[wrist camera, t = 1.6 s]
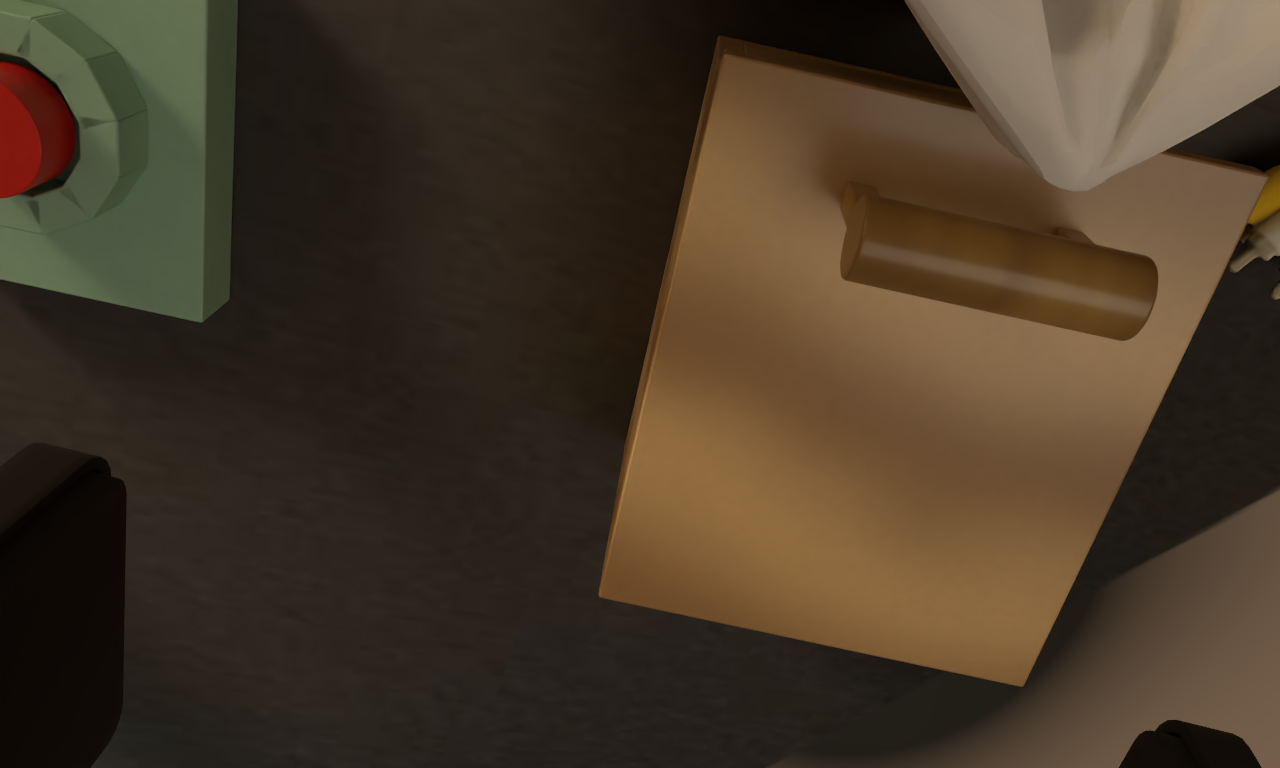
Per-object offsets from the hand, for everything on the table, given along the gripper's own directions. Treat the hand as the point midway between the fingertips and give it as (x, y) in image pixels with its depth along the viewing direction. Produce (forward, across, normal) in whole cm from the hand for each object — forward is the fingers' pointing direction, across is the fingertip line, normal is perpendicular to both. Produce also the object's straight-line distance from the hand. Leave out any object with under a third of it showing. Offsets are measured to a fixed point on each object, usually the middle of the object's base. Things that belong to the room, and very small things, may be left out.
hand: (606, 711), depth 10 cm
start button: (+22, +20, +4) cm, 30 cm away
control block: (+26, +20, +4) cm, 33 cm away
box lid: (+18, -6, +4) cm, 19 cm away
